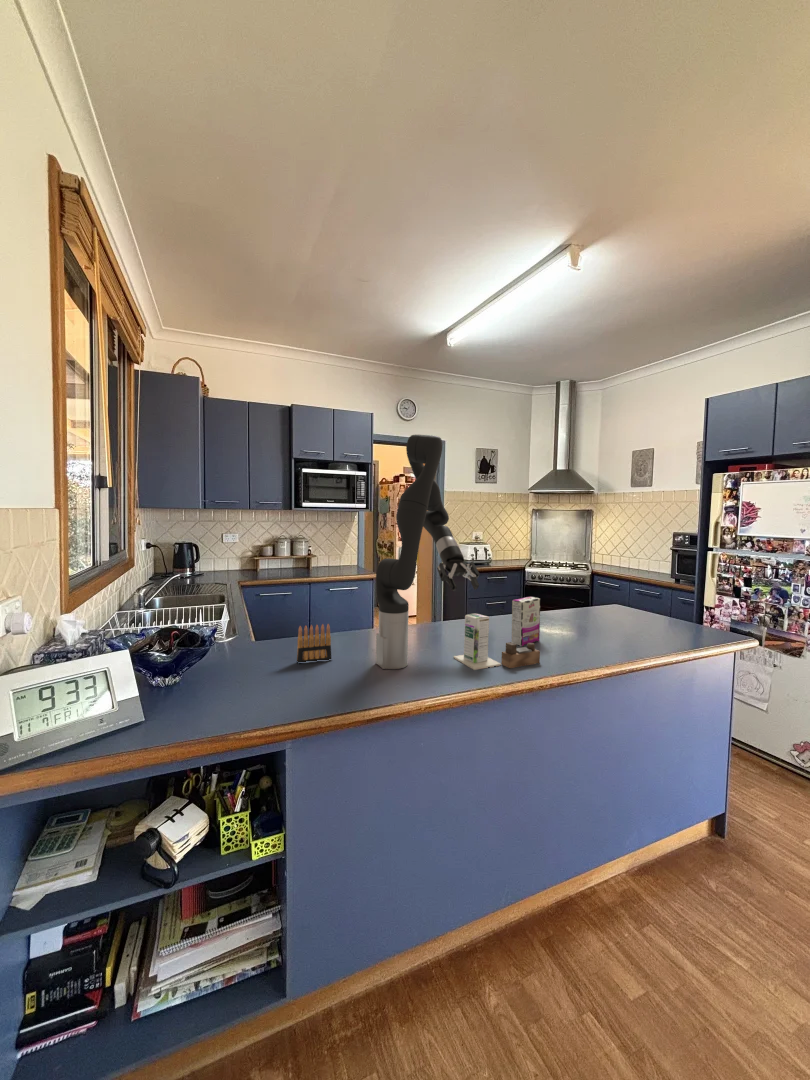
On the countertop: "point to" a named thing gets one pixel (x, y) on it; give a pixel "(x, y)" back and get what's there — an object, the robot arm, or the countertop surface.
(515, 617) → the candy bar box
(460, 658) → the mat
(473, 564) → the robot arm
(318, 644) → the ammunition clip
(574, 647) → the countertop surface
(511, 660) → the body
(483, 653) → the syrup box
